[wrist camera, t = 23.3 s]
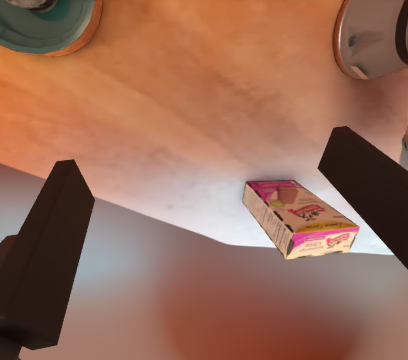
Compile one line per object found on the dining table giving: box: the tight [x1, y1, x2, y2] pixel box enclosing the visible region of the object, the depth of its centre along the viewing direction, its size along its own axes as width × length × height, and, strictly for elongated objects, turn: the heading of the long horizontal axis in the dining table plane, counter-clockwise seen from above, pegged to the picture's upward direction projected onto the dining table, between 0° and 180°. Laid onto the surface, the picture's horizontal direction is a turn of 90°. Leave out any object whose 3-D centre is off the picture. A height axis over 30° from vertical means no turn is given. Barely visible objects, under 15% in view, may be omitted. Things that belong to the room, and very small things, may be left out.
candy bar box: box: [243, 180, 360, 260], centre depth 39 cm, size 11×5×16 cm, turn 86°
